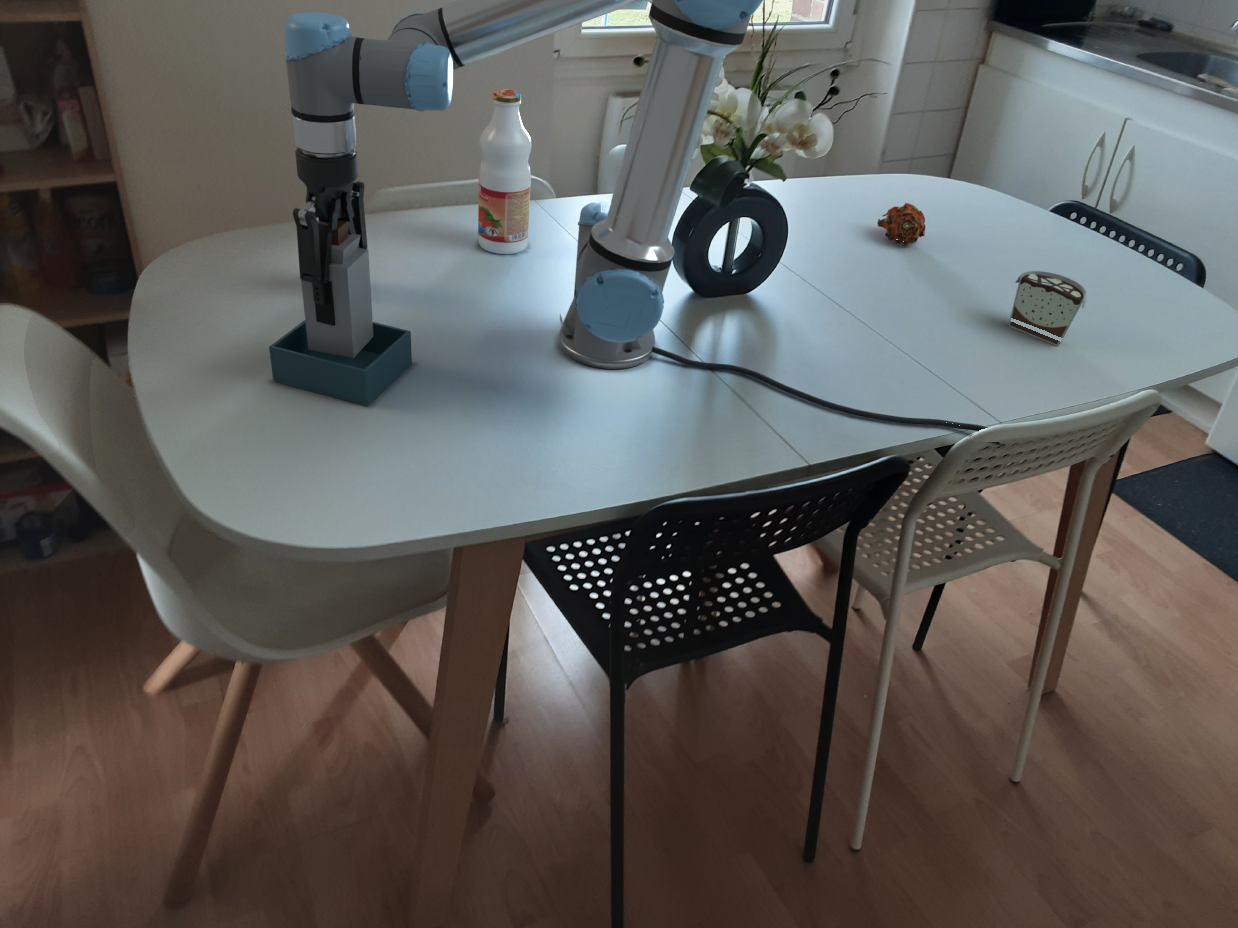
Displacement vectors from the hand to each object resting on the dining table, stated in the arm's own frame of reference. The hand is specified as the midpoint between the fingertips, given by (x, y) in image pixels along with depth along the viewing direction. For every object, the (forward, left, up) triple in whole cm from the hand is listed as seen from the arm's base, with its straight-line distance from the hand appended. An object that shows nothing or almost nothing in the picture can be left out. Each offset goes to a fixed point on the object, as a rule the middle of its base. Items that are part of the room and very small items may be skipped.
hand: (339, 312), depth 136 cm
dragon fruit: (-73, -98, -10) cm, 122 cm away
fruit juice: (-2, -54, -10) cm, 54 cm away
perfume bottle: (0, 0, -5) cm, 5 cm away
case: (0, 0, -10) cm, 10 cm away
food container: (-101, -67, -10) cm, 121 cm away
